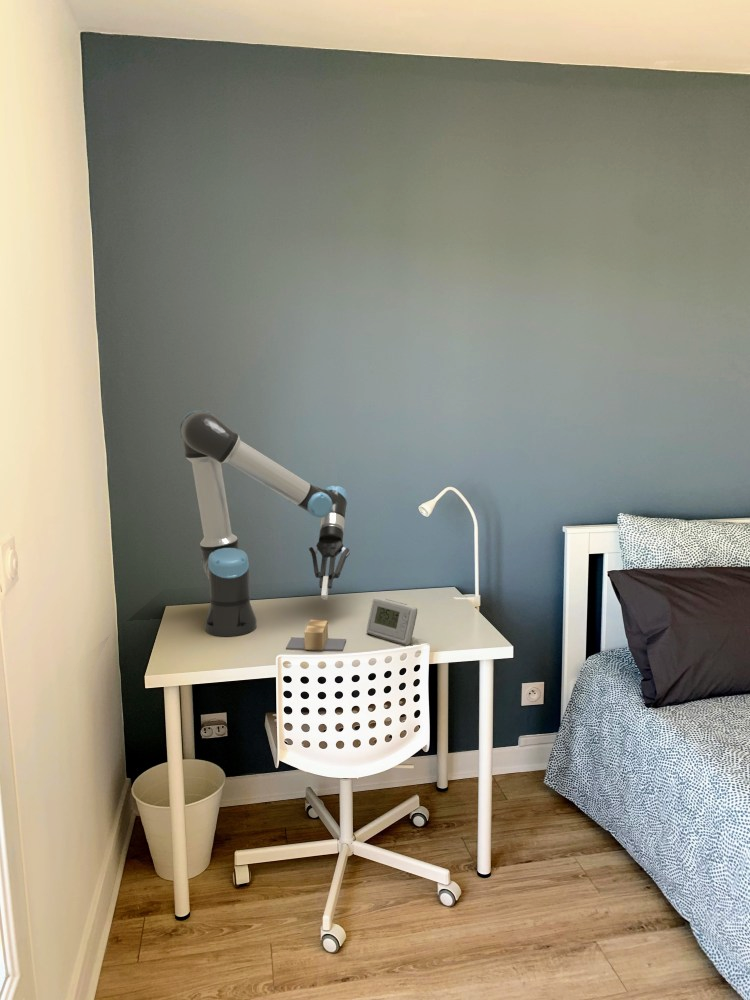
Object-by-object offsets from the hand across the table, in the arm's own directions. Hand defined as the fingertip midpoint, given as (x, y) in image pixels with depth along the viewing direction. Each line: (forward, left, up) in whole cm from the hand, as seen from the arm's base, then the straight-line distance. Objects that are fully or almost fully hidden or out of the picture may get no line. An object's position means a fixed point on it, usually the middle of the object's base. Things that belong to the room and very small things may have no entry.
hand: (324, 597), depth 233 cm
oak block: (0, -10, -6) cm, 12 cm away
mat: (0, -15, -9) cm, 18 cm away
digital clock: (+21, -8, -9) cm, 24 cm away
